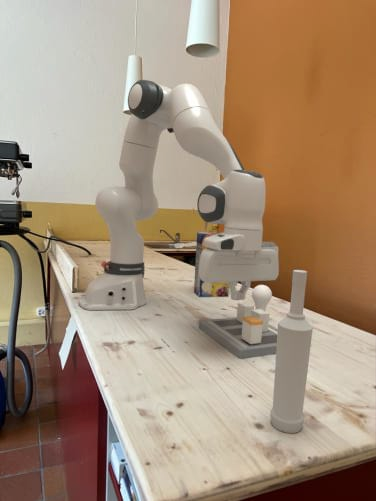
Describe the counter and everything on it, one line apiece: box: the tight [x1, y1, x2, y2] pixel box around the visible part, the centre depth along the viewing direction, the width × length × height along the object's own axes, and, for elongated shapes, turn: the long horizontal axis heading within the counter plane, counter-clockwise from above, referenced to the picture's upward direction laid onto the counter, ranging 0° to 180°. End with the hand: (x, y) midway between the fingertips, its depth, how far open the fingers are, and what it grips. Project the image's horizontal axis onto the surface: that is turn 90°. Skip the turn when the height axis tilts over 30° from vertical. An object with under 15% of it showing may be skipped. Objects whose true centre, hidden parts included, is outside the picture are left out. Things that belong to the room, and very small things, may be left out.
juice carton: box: [193, 232, 230, 298], centre depth 140 cm, size 12×8×24 cm, turn 105°
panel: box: [198, 302, 278, 360], centre depth 95 cm, size 18×22×7 cm
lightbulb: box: [251, 284, 273, 312], centre depth 112 cm, size 6×6×11 cm
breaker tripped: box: [242, 316, 263, 344], centre depth 87 cm, size 3×4×5 cm
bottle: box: [269, 269, 314, 434], centre depth 56 cm, size 5×5×25 cm
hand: (237, 299), depth 85 cm, fingers closed
